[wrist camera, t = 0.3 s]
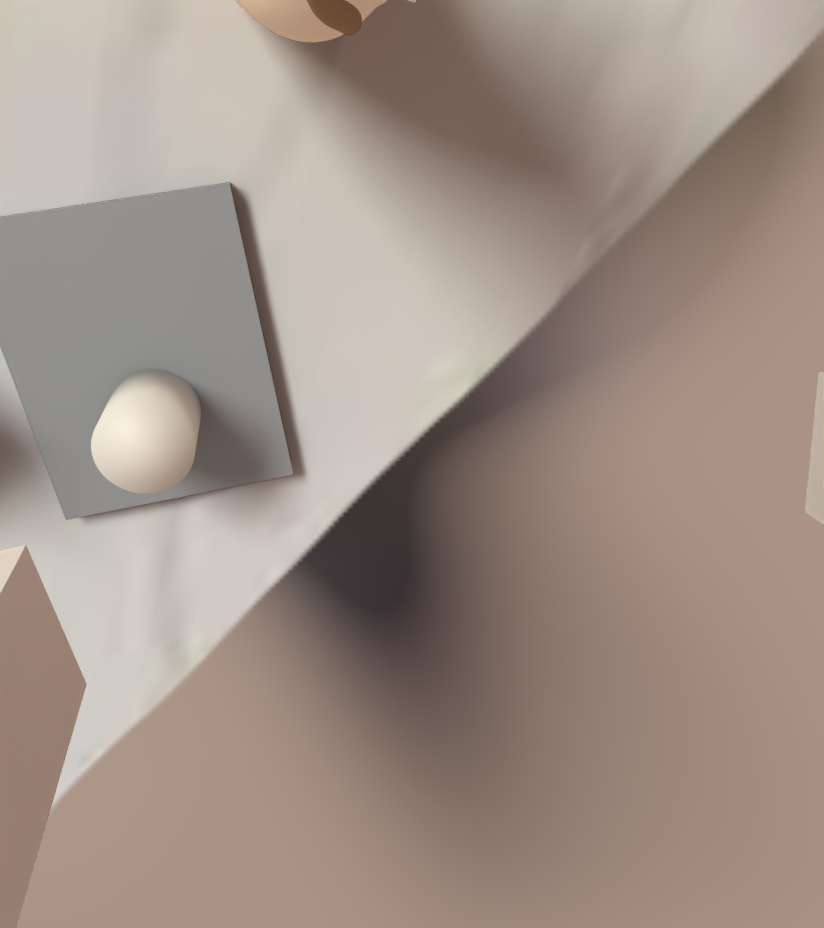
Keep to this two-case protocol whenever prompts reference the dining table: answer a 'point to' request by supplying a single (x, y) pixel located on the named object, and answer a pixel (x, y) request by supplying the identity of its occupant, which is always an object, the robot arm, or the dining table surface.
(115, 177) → the dining table surface
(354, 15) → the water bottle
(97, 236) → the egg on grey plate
